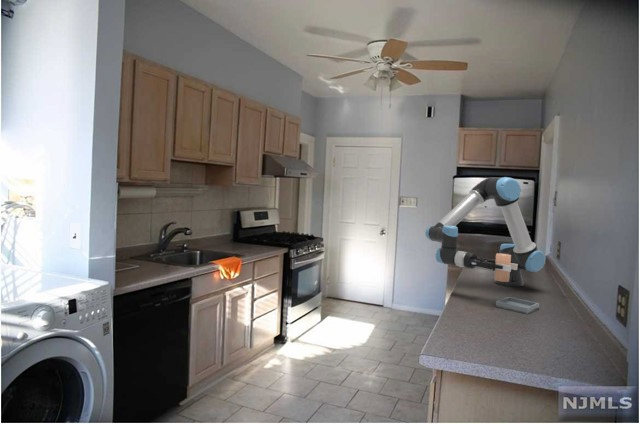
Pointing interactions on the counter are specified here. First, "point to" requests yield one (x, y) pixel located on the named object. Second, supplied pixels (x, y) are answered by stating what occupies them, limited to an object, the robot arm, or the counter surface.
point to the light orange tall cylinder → (501, 274)
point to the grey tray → (517, 305)
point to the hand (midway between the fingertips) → (513, 267)
